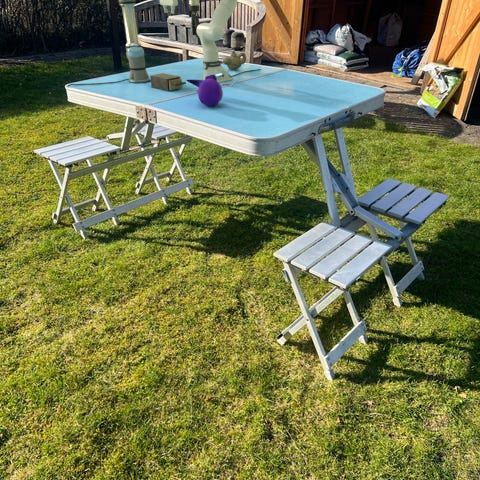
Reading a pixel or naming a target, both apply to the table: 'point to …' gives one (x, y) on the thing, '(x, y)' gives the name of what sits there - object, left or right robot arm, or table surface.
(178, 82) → the drawer
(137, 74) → the left robot arm
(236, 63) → the teapot
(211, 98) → the toy
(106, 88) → the table surface
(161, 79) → the brown wooden slab
